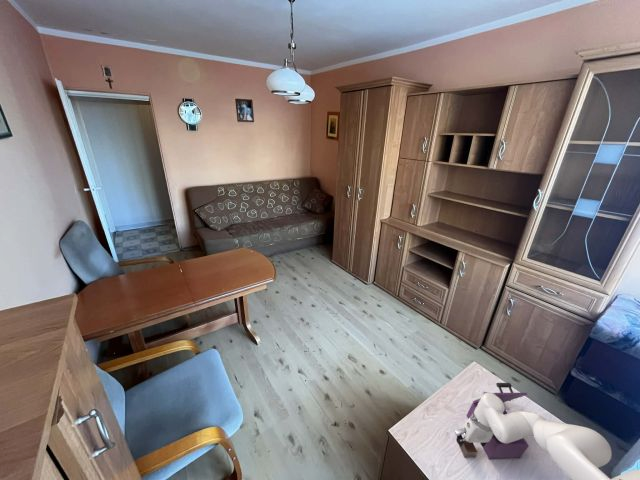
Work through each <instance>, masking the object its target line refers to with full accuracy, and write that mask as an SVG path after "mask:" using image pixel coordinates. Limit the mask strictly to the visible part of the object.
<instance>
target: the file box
mask: <svg viewBox="0 0 640 480" xmlns="http://www.w3.org/2000/svg"><path fill="white" fill-rule="evenodd" d="M477 405H478V403H473V402H472V403H471V405H470V406H469V410H468V411H467V413H466V418H467V420H468V419H469V418H470V417H471V416H472V414H473V412H474V410H475V409H476V407H477ZM508 413H509V412H508V411H507V410H506V409H505V410H504V412H503V414H508ZM529 447H530V445H529V444H528V442H527V440H526V439H525V438H522V439H519V440H517V441H514V442H511V443H502V442H500V441H499V440H498V439H497V438H496V436H493V438H491V440H490V441H489V442H487V443H486V444H485V446H484V447H482V450H483V451H484V453H485V454H486V457H487V459H488V460H518V459H521V458H522V456H523V455H524V454H525V452H526V451H527V449H529Z"/></svg>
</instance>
